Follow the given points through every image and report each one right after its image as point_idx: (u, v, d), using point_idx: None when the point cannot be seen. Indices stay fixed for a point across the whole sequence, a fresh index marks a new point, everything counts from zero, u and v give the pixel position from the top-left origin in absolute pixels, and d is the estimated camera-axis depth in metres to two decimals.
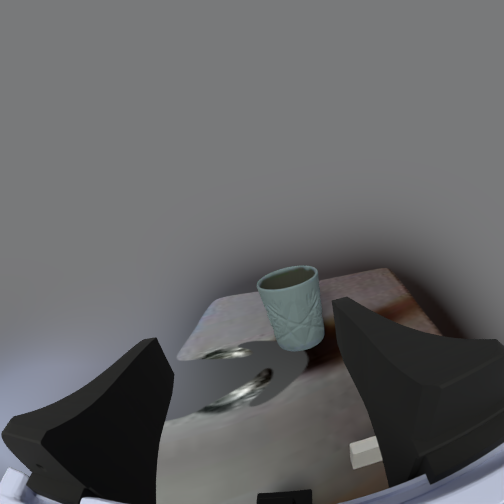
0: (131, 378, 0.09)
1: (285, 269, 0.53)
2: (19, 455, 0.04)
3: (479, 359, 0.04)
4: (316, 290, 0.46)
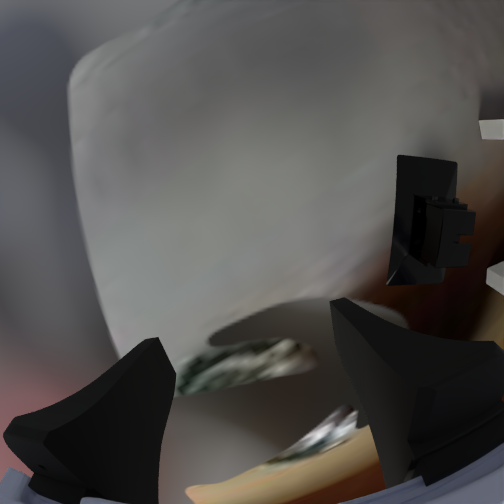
0: (133, 378, 0.09)
1: None
2: (21, 456, 0.04)
3: (475, 361, 0.04)
4: None
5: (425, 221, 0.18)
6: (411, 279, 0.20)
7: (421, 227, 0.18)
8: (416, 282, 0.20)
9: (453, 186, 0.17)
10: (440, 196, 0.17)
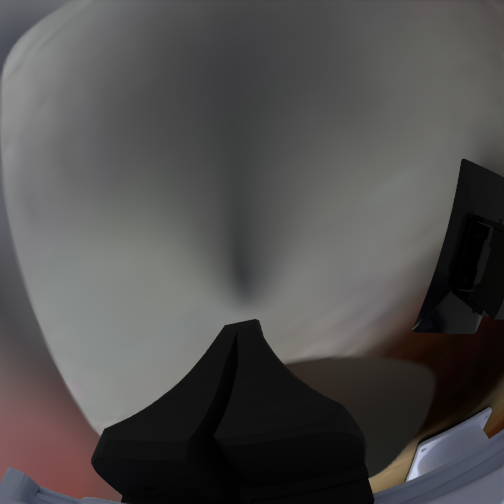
0: (231, 365, 0.08)
1: None
2: (115, 479, 0.04)
3: (288, 427, 0.04)
4: None
5: (479, 252, 0.12)
6: (444, 325, 0.13)
7: (474, 259, 0.12)
8: (448, 329, 0.14)
9: None
10: (499, 222, 0.11)
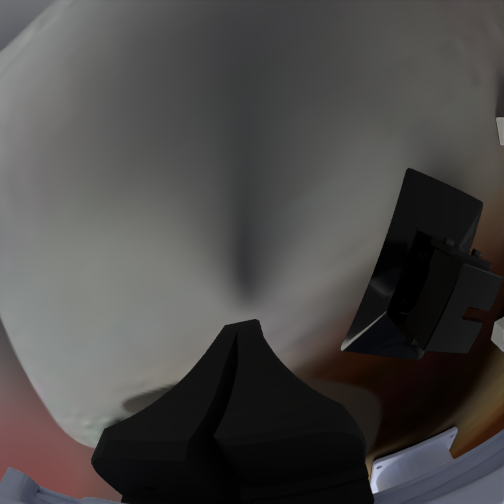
0: (231, 366, 0.08)
1: None
2: (114, 479, 0.04)
3: (288, 427, 0.04)
4: None
5: (423, 272, 0.12)
6: (380, 347, 0.14)
7: (415, 279, 0.12)
8: (386, 352, 0.14)
9: (472, 232, 0.12)
10: None
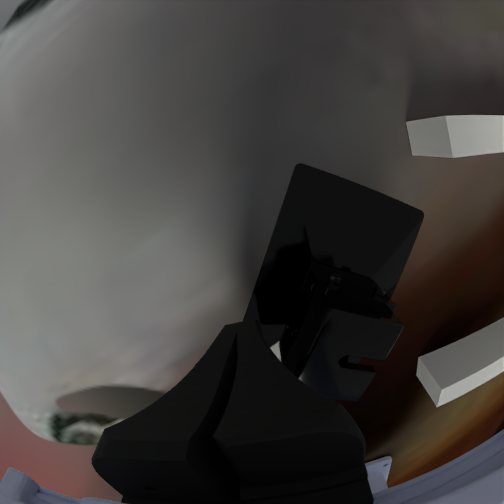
0: (232, 365, 0.08)
1: None
2: (115, 479, 0.04)
3: (288, 427, 0.04)
4: None
5: None
6: None
7: None
8: None
9: (393, 263, 0.12)
10: (362, 273, 0.12)
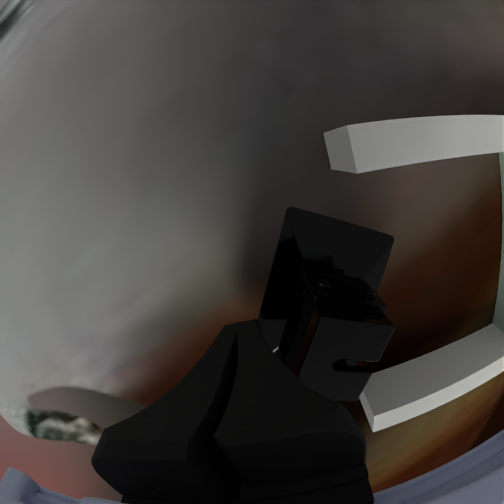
0: (232, 365, 0.08)
1: None
2: (115, 479, 0.04)
3: (288, 427, 0.04)
4: None
5: None
6: None
7: None
8: None
9: (384, 262, 0.12)
10: (353, 275, 0.12)
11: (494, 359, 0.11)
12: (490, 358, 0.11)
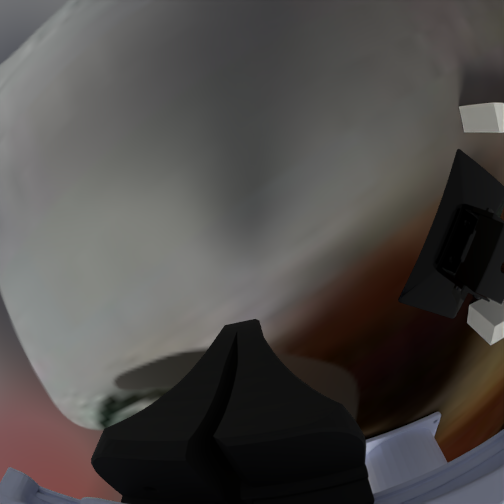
0: (231, 365, 0.08)
1: None
2: (115, 479, 0.04)
3: (288, 427, 0.04)
4: None
5: (465, 238, 0.13)
6: (426, 303, 0.15)
7: (459, 243, 0.13)
8: (429, 309, 0.15)
9: (498, 214, 0.13)
10: None
11: None
12: None
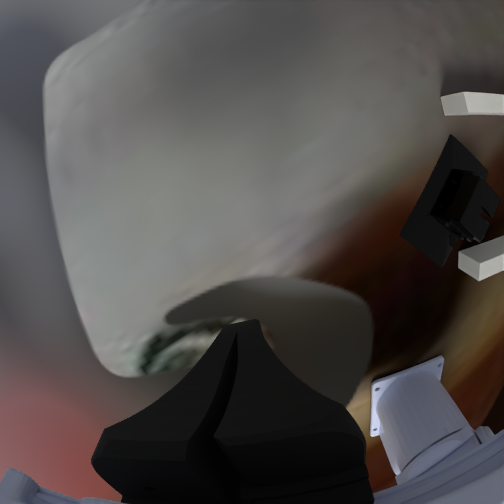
0: (232, 365, 0.08)
1: None
2: (115, 479, 0.04)
3: (288, 427, 0.04)
4: None
5: (453, 194, 0.18)
6: (421, 242, 0.20)
7: (448, 197, 0.18)
8: (423, 249, 0.20)
9: None
10: None
11: None
12: None
